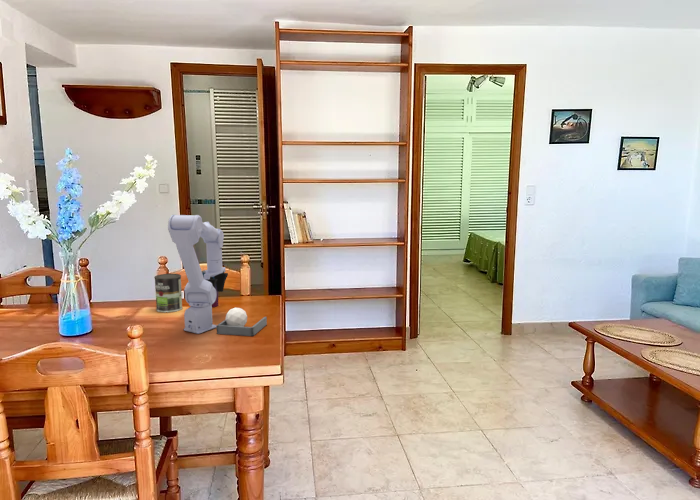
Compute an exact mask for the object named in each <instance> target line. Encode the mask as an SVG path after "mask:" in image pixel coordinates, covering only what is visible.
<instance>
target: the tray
mask: <svg viewBox="0 0 700 500" xmlns="http://www.w3.org/2000/svg"><path fill="white" fill-rule="evenodd" d="M267 321H268V320H267V316H264V317H262V318H261V319H260V320H259V321H258V322H256V323H255V324H254V325H253V326H244V327H242V326H228V325H227V323H226V320H225V319H224V320H222V321H221V322H220V323H218V324H216V325H217V326H216V328H215V329H216V335H228V336H245V337H254V336H256V335H257V333H259V332H260V331H261V330H262V329H263V328H265V327H266V326H267V325H268V322H267Z"/></svg>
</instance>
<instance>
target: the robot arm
mask: <svg viewBox="0 0 700 500" xmlns="http://www.w3.org/2000/svg"><path fill="white" fill-rule="evenodd" d="M167 223H168V224H167V230H168V233H169V235H170V238H171V240H172V242H173V243H174V244H175V247H176V249H177V253H178V255H179V258H180V261H181V263H182V267H183V269H184V272H185V275H186V278H187V280H188V282H187V283H186V285H185V286H184V289H183V291H184V298H185V299H184V300H185V301H186V303H187V304H188V306H190V307H188V308H186V309H185V311H184V312H183V313H184V317H183V318H184V328H183V331H186V332H188V333H192V334H193V333H194V334H197V335H198V334H202V333H204V332H207V331H210V330H213V329H217V328H216V326H217V325H218V324H213V307H212V304H213V303H214V302H215V300H216V295H217V293H216V289H215V286H216V287H217V291H218V292H221V293H223V292H224V287H225V282H226V280H227V279H228V278H227V277H228V276H229V274H228V272H226V267H225V266H224V267H223V249H222V248H223V247H224V238H225V235H224V232H223V230H222V229H221V228H215V226H214V225H212V224H211V223H210V221H204V222H203V219H202V216H200V215H199V214H194V215H189V214H187V215H186V214H172V215H170V217H169V218H168V222H167ZM200 238H201V239H202V240H203V243H204V244H205V245H206V246H205V247H206V268H207V269H205V272H206V273H205V274H204V277H203V274H202V271H203V270H202V268H201V266H200V262H199V259H198V255H197V253H196V250H195V247H194V245H196V244H197V243H199V241H200ZM213 277H214V278H215V279H213Z"/></svg>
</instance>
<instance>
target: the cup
mask: <svg viewBox="0 0 700 500" xmlns="http://www.w3.org/2000/svg"><path fill="white" fill-rule="evenodd" d="M205 270H206V269H205ZM205 270H201V271H202V274H203V277H204V274H205V273H206V272H205ZM213 279H215V278H214V277H213ZM215 289H216V293H217V295H216V300H215V302H214V303H213V304H212V308H215V307H218V306H219V292H218V291H217V287H216V286H215Z"/></svg>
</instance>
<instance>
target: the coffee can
mask: <svg viewBox="0 0 700 500" xmlns="http://www.w3.org/2000/svg"><path fill="white" fill-rule="evenodd" d="M154 284H155V285H154V287H155V289H154V290H155V301H156V302H155V305H156V310H155V311H156V312H157V313H164V314H165V313H166V312H167V313H175V312H179V311H181V310H183V297H182V296H183V294H182V275H181V274H180V273H179V274H178V273H163V274H161V273H160V274H157V275H155V276H154Z"/></svg>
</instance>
